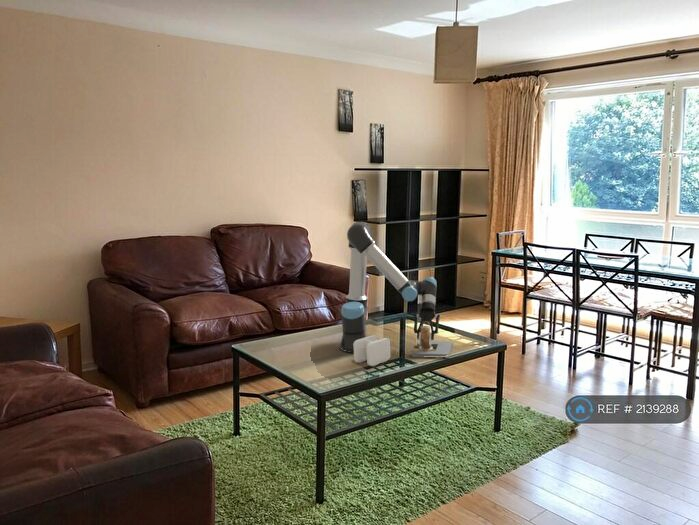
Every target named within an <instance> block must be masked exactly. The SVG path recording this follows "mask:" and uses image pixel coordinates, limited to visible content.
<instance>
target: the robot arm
mask: <svg viewBox="0 0 699 525" xmlns="http://www.w3.org/2000/svg"><path fill="white" fill-rule="evenodd" d="M372 236H373V231H372V228H371V226H370V225H369V224H368V223H367V222H364V221H357V222H354V223H353V224H352V225H351V226H350V227H349V228H348V230H347V233H346V237H347V240H348V248H349V249H350V269H349V270H350V271H349V286H348V287H349V289H348V294H347V295H346V296H345V303H343V305H342V306H341V309H340V313H341V326H342V336H341V339H340V343H339V345H340V346H339V347H341V348H342V349H343V350H346V351H351V352H350V353H354V346H353V344H354V342H355V341H356V340H359V339H362V338H365V337H367V334H366V326H365V322H366V321H365V319H366V316H367V314H368V312H369V311H368V310H369V308H368V296H367V295H366V279H367V265H368V264H367V261H368V260H369V261H370V262H371V263H372V265H374V266H375V268H376V269H377V270H379V272H380V273H381V274H382V275H383V276H384V277H385V278H386V279H387V280H388V281H389V283H391V285H392V286H394V288H395V289H396V290H397V291H398V292H399V293H400V295H401V296H402V298H403V300H404V301H406V302H413V301H415V300H416V299H417V297H418V296H421V298H420V308H419V313H417V314H416V313H414V314H413V317H414V324H413V332H414V334H416V339H417V340H418V341H419V342H418V341H417V342H418V344H419V346H421V326H424V324H425V322H429V327H430V337H429V347H431V341H434V339H435V334H437V335H438V334H439V323H440V322H439V321H440V319H441V315H440V314H436V302H437V300H436V299H437V288H438V287H437V280H436V279H435V278H434V277H432V276H429V277H425V278H423V279H422V280H413V279H412V280H411V279H408V278H407V277H406V276H405V275H404V274H403V273H402V272H401V270H400V269H399V268H398V267H397V266H396V265H395V264H394V263H393V262H392V261H391V259H389V258H388V257H387V255H386V254H385V253H384V252H383V251H382V250H381V249H380V248H379V247H378V246H377V245H376V242H375V241H376V240H374V239H373V237H372ZM419 318H420V323H419V325H418V322H419V320H418V319H419ZM433 319H435V328H434V327H433V326H434V325H433Z"/></svg>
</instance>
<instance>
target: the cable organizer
mask: <svg viewBox="0 0 699 525" xmlns="http://www.w3.org/2000/svg"><path fill="white" fill-rule="evenodd" d="M390 340H391V339H389V338H388V337H382V338H380V339H379V336H377V335H375V334H372V335H368V336H366V337H365V338H362V339H359V340H356V341H355V342H354V344H353V346H354V352H353V360H354V362H356V363H361V364H362V363H364V362H366V363H367V365H368V366H371V367H375V366H377V365H379V364H381V363H382V364H383V363H385V362H388V360H390V358H391V341H390Z"/></svg>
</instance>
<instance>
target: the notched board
mask: <svg viewBox="0 0 699 525" xmlns="http://www.w3.org/2000/svg"><path fill="white" fill-rule="evenodd" d="M418 342H419V340H418V341H416V348H419V347H420V346H419V344H418ZM453 343H454V342H453V341H439V340H435V341H434V340H432V341H431V346H432V347H433V349H434V348H435V350H433V351H421V350H419V349H418V350H415V349H414V350H412V353H411V358H424V356H446V355H449V354H450V352H452V350H451V349H453V347H452V346H453V345H454V344H453ZM450 355H451V354H450Z"/></svg>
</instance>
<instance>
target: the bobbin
mask: <svg viewBox="0 0 699 525" xmlns="http://www.w3.org/2000/svg"><path fill="white" fill-rule="evenodd" d="M430 333H431V327H430V325H423V326H421V346H420V347H418V350H421V351H434V348H433V347H432V346H431V347H429V337H430Z"/></svg>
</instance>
